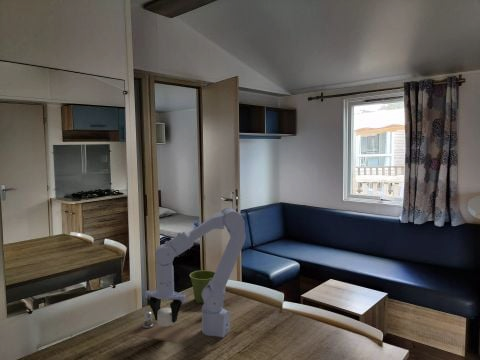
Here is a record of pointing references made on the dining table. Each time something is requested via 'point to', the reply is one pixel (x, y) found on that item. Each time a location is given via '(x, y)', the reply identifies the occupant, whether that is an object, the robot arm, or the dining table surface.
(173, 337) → the post board
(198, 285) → the plant pot
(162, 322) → the cap
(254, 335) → the dining table surface
